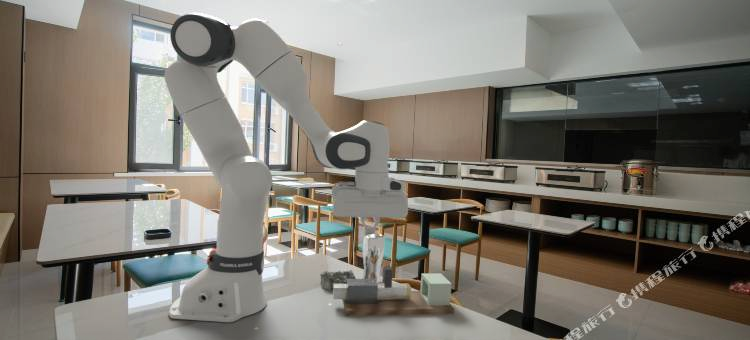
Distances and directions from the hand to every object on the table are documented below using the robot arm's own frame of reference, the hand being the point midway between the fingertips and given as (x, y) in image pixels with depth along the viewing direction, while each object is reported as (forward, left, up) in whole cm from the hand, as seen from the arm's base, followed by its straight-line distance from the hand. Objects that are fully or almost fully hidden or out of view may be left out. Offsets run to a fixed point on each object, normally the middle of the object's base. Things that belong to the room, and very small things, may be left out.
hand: (369, 233), depth 98 cm
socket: (+20, 0, -20) cm, 28 cm away
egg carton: (-6, +15, -20) cm, 26 cm away
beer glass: (+5, +18, -20) cm, 27 cm away
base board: (+9, 0, -20) cm, 22 cm away
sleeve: (-1, 0, -18) cm, 18 cm away
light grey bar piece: (+2, 0, -17) cm, 18 cm away
